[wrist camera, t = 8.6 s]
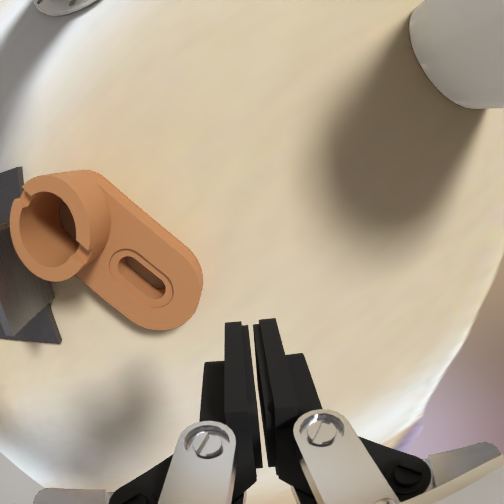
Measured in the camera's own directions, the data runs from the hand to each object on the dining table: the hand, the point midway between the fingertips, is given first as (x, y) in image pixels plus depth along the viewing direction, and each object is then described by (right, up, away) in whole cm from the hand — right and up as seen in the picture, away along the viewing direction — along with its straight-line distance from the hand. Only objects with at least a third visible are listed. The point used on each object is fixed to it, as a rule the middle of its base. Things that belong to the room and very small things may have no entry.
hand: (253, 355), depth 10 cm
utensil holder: (+22, +26, +12) cm, 36 cm away
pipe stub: (-29, +2, +16) cm, 33 cm away
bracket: (-12, +4, +17) cm, 21 cm away
